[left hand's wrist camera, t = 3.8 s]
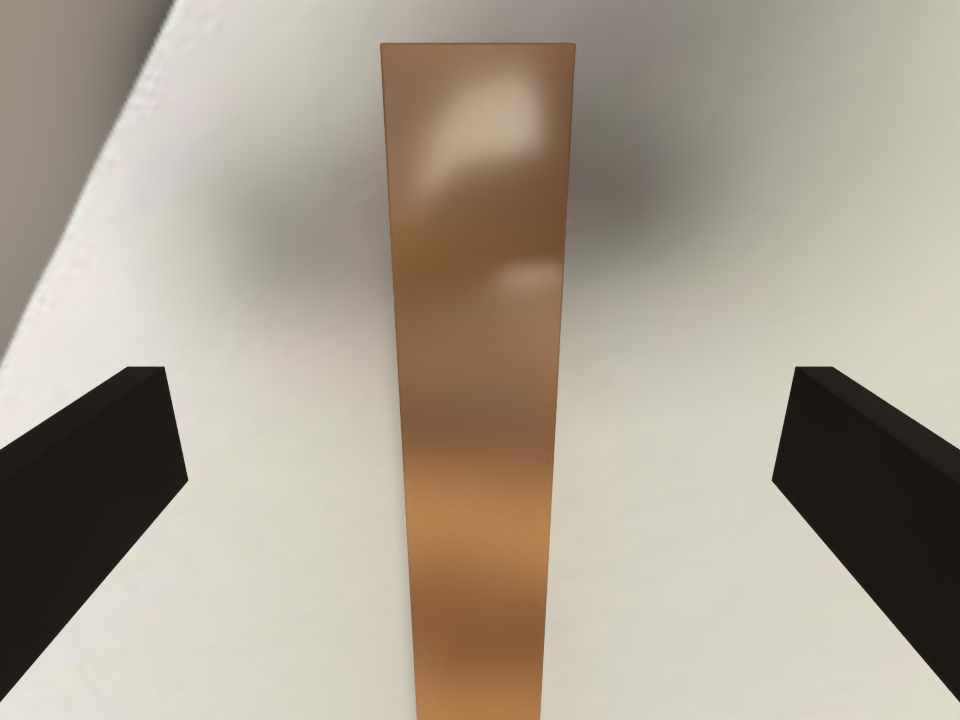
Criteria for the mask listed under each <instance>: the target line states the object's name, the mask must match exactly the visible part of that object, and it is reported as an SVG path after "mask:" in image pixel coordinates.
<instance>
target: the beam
mask: <svg viewBox="0 0 960 720" xmlns="http://www.w3.org/2000/svg"><path fill="white" fill-rule="evenodd" d="M380 51H381V69H382V88H383V106H384V124H385V142H386V161H387V179H388V197H389V215H390V234H391V252H392V270H393V288H394V307H395V325H396V343H397V361H398V380H399V398H400V416H401V434H402V452H403V471H404V489H405V507H406V525H407V544H408V562H409V580H410V598H411V617H412V635H413V653H414V671H415V690H416V708H417V720H540V712H541V693H542V674H543V655H544V636H545V617H546V597H547V578H548V559H549V540H550V521H551V502H552V483H553V464H554V445H555V426H556V407H557V388H558V369H559V350H560V330H561V311H562V292H563V273H564V254H565V235H566V216H567V197H568V178H569V159H570V140H571V121H572V102H573V82H574V63H575V43H381V44H380Z"/></svg>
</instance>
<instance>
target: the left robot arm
mask: <svg viewBox="0 0 960 720" xmlns="http://www.w3.org/2000/svg"><path fill="white" fill-rule="evenodd" d="M187 481H188V476H187V472H186V467H185V462H184V457H183V453H182V448H181V443H180V438H179V434H178V429H177V424H176V419H175V415H174V410H173V405H172V400H171V396H170V391H169V386H168V381H167V377H166V372H165V367H126V368H125V369H123V370H122V371H120V372H119V373H117V374H116V375H114V376H112V377H111V378H109V379H108V380H106V381H105V382H103V383H102V384H100V385H99V386H97V387H96V388H94V389H93V390H91V391H89V392H88V393H86V394H85V395H83V396H82V397H80V398H79V399H77V400H76V401H74V402H73V403H71V404H70V405H68V406H66V407H65V408H63V409H62V410H60V411H59V412H57V413H56V414H54V415H53V416H51V417H50V418H48V419H47V420H45V421H43V422H42V423H40V424H39V425H37V426H36V427H34V428H33V429H31V430H30V431H28V432H27V433H25V434H24V435H22V436H21V437H19V438H17V439H16V440H14V441H13V442H11V443H10V444H8V445H7V446H5V447H4V448H2V449H1V450H0V702H1V701H2V700H3V698H4V697H5V696H6V695H7V694H8V692H9V691H10V690H11V689H12V688H13V687H14V685H15V684H16V683H17V682H18V681H19V680H20V678H21V677H22V676H23V675H24V674H25V672H26V671H27V670H28V669H29V668H30V667H31V665H32V664H33V663H34V662H35V661H36V659H37V658H38V657H39V656H40V655H41V654H42V652H43V651H44V650H45V649H46V648H47V647H48V645H49V644H50V643H51V642H52V641H53V639H54V638H55V637H56V636H57V635H58V634H59V632H60V631H61V630H62V629H63V628H64V626H65V625H66V624H67V623H68V622H69V621H70V619H71V618H72V617H73V616H74V615H75V614H76V612H77V611H78V610H79V609H80V608H81V606H82V605H83V604H84V603H85V602H86V601H87V599H88V598H89V597H90V596H91V595H92V593H93V592H94V591H95V590H96V589H97V588H98V586H99V585H100V584H101V583H102V582H103V581H104V579H105V578H106V577H107V576H108V575H109V573H110V572H111V571H112V570H113V569H114V568H115V566H116V565H117V564H118V563H119V562H120V560H121V559H122V558H123V557H124V556H125V555H126V553H127V552H128V551H129V550H130V549H131V547H132V546H133V545H134V544H135V543H136V542H137V540H138V539H139V538H140V537H141V536H142V535H143V533H144V532H145V531H146V530H147V529H148V527H149V526H150V525H151V524H152V523H153V522H154V520H155V519H156V518H157V517H158V516H159V514H160V513H161V512H162V511H163V510H164V509H165V507H166V506H167V505H168V504H169V503H170V502H171V500H172V499H173V498H174V497H175V496H176V494H177V493H178V492H179V491H180V490H181V489H182V487H183V486H184V485H185V484H186V483H187ZM772 481H773V483H774V484H775V485H776V486H777V487H778V489H779V490H780V491H781V492H782V493H783V494H784V496H785V497H786V498H787V499H788V500H789V502H790V503H791V504H792V505H793V506H794V507H795V509H796V510H797V511H798V512H799V513H800V514H801V516H802V517H803V518H804V519H805V520H806V522H807V523H808V524H809V525H810V526H811V527H812V529H813V530H814V531H815V532H816V533H817V535H818V536H819V537H820V538H821V539H822V540H823V542H824V543H825V544H826V545H827V546H828V548H829V549H830V550H831V551H832V552H833V553H834V555H835V556H836V557H837V558H838V559H839V560H840V562H841V563H842V564H843V565H844V566H845V568H846V569H847V570H848V571H849V572H850V573H851V575H852V576H853V577H854V578H855V579H856V581H857V582H858V583H859V584H860V585H861V586H862V588H863V589H864V590H865V591H866V592H867V593H868V595H869V596H870V597H871V598H872V599H873V601H874V602H875V603H876V604H877V605H878V606H879V608H880V609H881V610H882V611H883V612H884V614H885V615H886V616H887V617H888V618H889V619H890V621H891V622H892V623H893V624H894V625H895V626H896V628H897V629H898V630H899V631H900V632H901V634H902V635H903V636H904V637H905V638H906V639H907V641H908V642H909V643H910V644H911V645H912V647H913V648H914V649H915V650H916V651H917V652H918V654H919V655H920V656H921V657H922V658H923V659H924V661H925V662H926V663H927V664H928V665H929V667H930V668H931V669H932V670H933V671H934V672H935V674H936V675H937V676H938V677H939V678H940V680H941V681H942V682H943V683H944V684H945V685H946V687H947V688H948V689H949V690H950V691H951V692H952V694H953V695H954V696H955V697H956V698H957V700H958V701H959V702H960V450H959V449H958V448H956V447H955V446H953V445H952V444H950V443H949V442H947V441H946V440H944V439H943V438H941V437H939V436H938V435H936V434H935V433H933V432H932V431H930V430H929V429H927V428H926V427H924V426H923V425H921V424H920V423H918V422H917V421H915V420H913V419H912V418H910V417H909V416H907V415H906V414H904V413H903V412H901V411H900V410H898V409H897V408H895V407H894V406H892V405H890V404H889V403H887V402H886V401H884V400H883V399H881V398H880V397H878V396H877V395H875V394H874V393H872V392H871V391H869V390H867V389H866V388H864V387H863V386H861V385H860V384H858V383H857V382H855V381H854V380H852V379H851V378H849V377H848V376H846V375H844V374H843V373H841V372H840V371H838V370H837V369H835V368H834V367H795V372H794V377H793V381H792V386H791V391H790V396H789V400H788V405H787V410H786V415H785V419H784V424H783V429H782V434H781V438H780V443H779V448H778V453H777V457H776V462H775V467H774V472H773V476H772Z"/></svg>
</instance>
